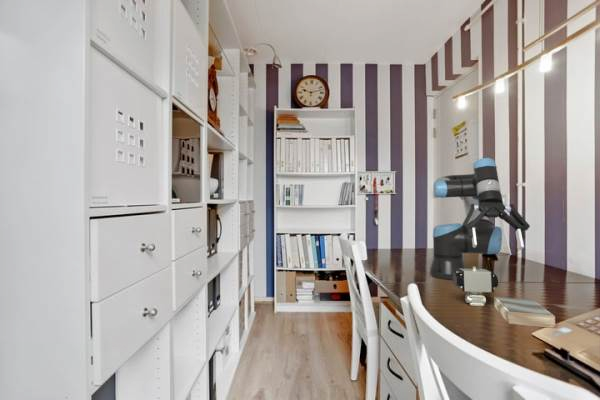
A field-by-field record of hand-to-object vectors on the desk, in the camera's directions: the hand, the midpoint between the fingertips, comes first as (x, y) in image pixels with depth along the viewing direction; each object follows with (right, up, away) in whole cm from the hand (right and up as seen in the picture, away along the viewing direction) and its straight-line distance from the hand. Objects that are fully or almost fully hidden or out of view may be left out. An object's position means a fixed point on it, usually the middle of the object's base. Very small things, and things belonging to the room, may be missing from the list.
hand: (497, 247), depth 101 cm
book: (-5, -17, -18) cm, 25 cm away
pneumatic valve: (-12, -17, -7) cm, 22 cm away
